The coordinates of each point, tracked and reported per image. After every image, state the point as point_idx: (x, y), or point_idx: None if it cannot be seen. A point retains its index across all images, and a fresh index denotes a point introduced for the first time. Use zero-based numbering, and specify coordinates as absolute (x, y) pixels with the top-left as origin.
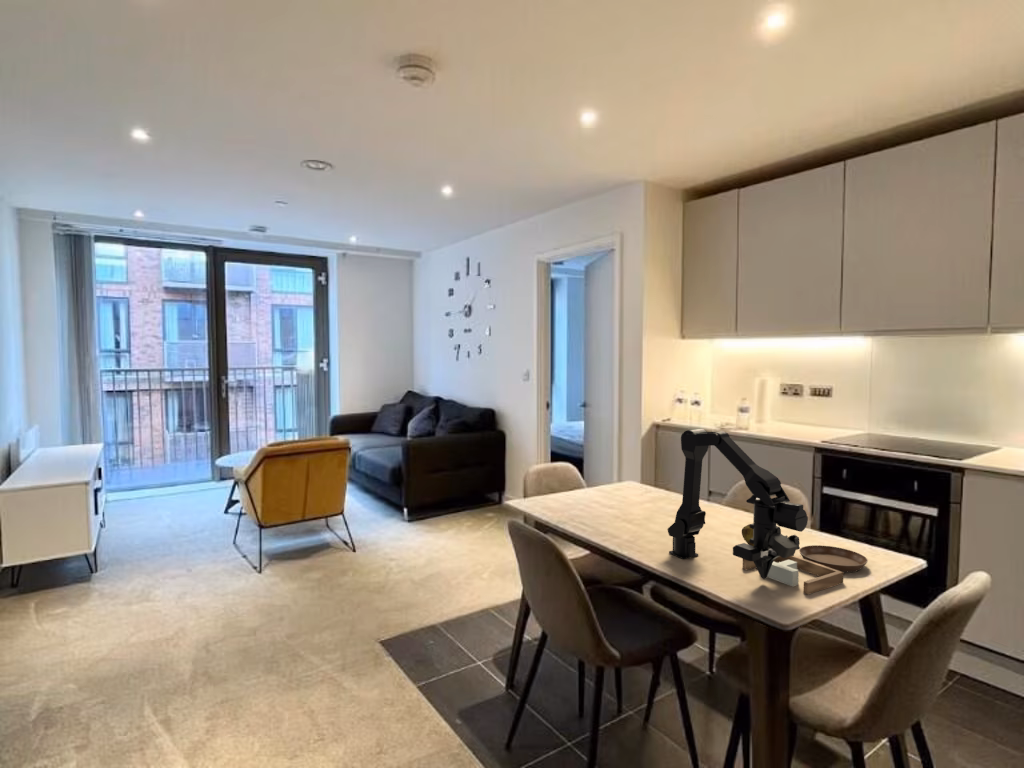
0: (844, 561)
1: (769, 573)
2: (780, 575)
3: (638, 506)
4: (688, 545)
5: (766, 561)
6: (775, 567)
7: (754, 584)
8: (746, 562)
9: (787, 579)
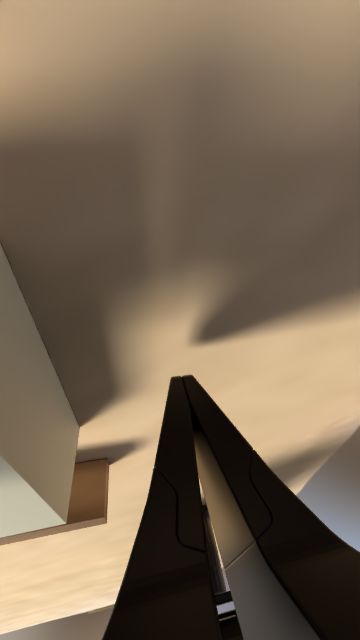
0: None
1: (59, 419)
2: (26, 378)
3: (56, 604)
4: (211, 559)
5: (307, 558)
6: (26, 459)
7: (226, 362)
8: (102, 500)
9: (3, 315)
